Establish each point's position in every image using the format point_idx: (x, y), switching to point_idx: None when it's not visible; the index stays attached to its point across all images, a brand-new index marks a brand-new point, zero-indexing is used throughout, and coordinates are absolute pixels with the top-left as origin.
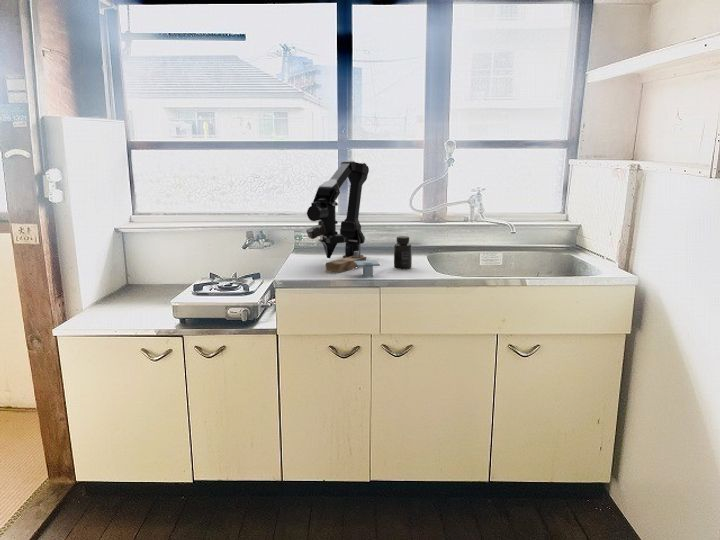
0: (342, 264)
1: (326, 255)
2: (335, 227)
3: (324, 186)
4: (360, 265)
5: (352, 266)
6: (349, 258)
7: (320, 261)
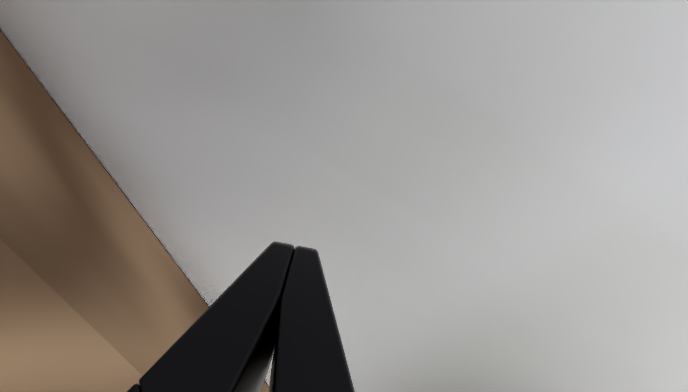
0: None
1: (315, 281)
2: None
3: None
4: None
5: None
6: (84, 388)
7: (665, 240)
